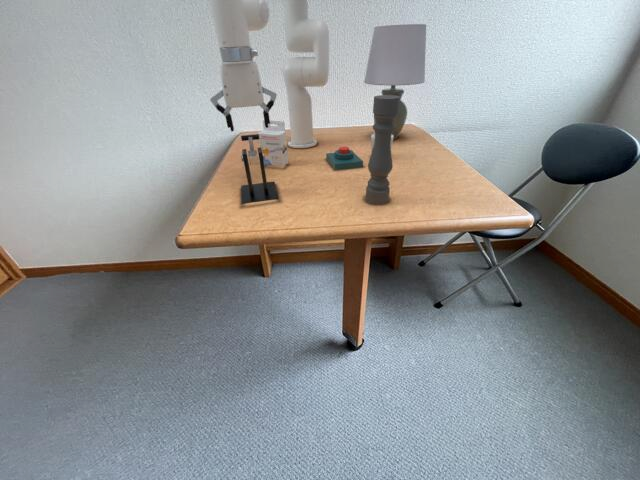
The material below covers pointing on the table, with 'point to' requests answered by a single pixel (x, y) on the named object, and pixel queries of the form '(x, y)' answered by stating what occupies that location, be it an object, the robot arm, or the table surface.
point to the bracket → (259, 190)
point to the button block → (344, 160)
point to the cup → (374, 140)
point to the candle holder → (381, 148)
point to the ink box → (274, 144)
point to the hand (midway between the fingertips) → (249, 128)
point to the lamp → (397, 62)
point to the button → (344, 150)
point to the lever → (251, 147)
